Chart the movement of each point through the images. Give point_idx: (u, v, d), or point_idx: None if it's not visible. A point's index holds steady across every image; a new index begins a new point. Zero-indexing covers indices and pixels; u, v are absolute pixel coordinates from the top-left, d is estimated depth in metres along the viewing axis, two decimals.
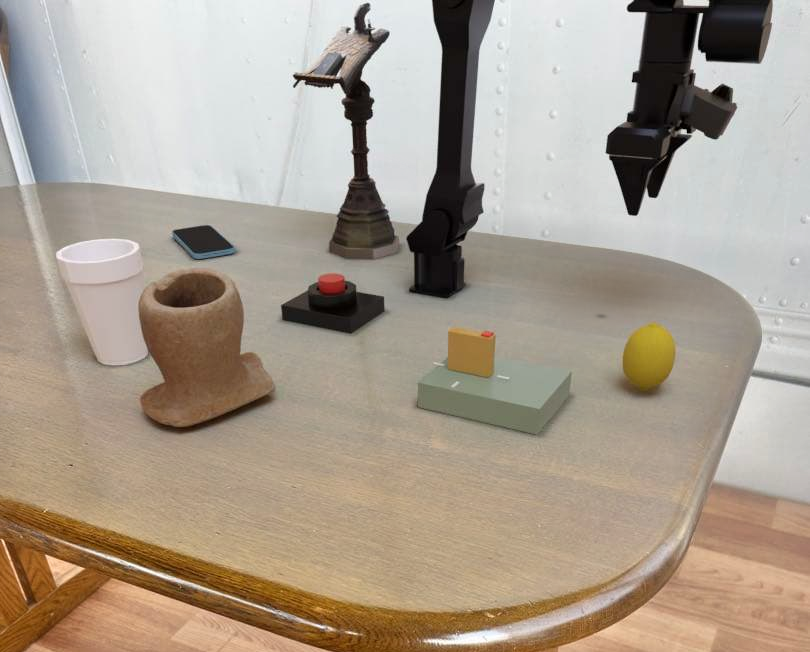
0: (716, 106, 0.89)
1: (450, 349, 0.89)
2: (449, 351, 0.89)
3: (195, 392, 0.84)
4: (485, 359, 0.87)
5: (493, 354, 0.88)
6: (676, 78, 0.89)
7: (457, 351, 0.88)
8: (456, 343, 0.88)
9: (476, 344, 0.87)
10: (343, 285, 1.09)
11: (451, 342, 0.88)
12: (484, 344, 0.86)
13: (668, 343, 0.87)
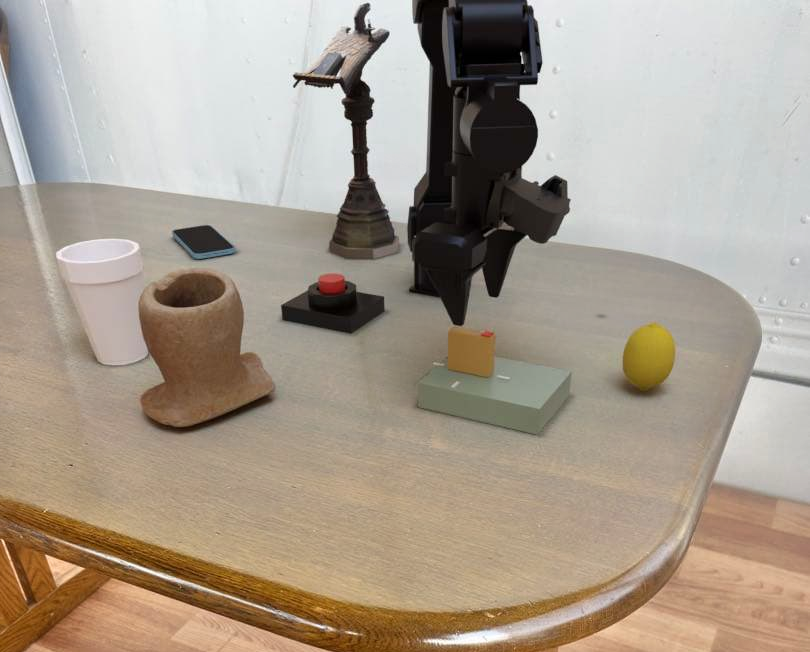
0: (539, 207, 0.75)
1: (450, 349, 0.89)
2: (449, 351, 0.89)
3: (195, 392, 0.84)
4: (485, 359, 0.87)
5: (493, 354, 0.88)
6: (492, 173, 0.75)
7: (457, 351, 0.88)
8: (456, 343, 0.88)
9: (476, 344, 0.87)
10: (343, 285, 1.09)
11: (451, 342, 0.88)
12: (484, 344, 0.86)
13: (668, 343, 0.87)
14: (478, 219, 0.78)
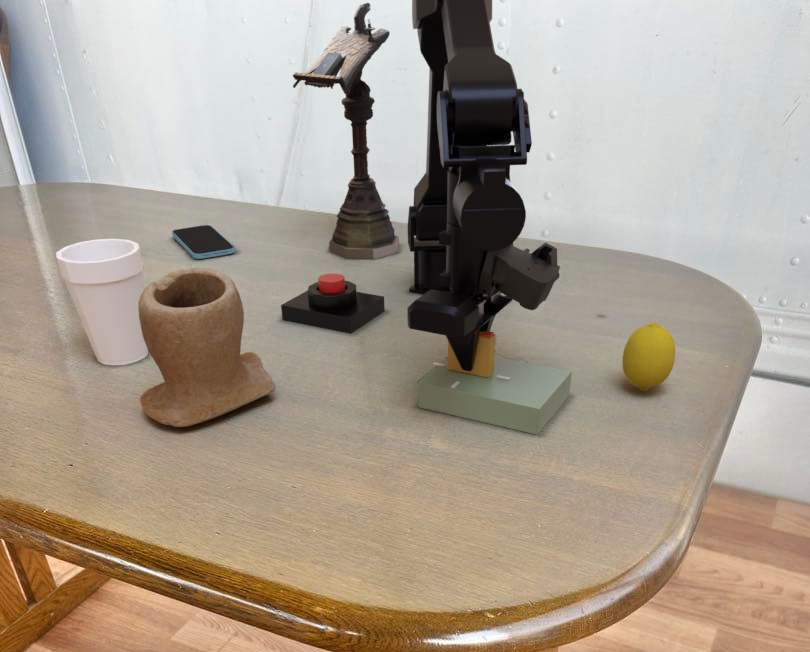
0: (529, 277, 0.78)
1: (450, 349, 0.89)
2: (449, 351, 0.89)
3: (195, 392, 0.84)
4: (485, 359, 0.87)
5: (493, 354, 0.88)
6: None
7: None
8: None
9: None
10: (343, 285, 1.09)
11: None
12: (484, 344, 0.86)
13: (668, 343, 0.87)
14: (471, 286, 0.81)
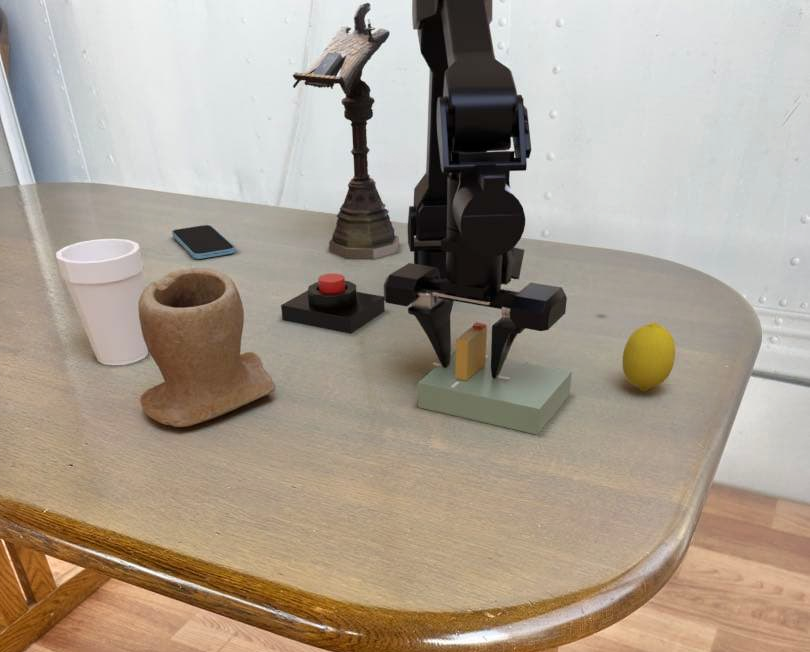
0: (521, 249, 0.87)
1: (468, 359, 0.86)
2: (468, 361, 0.87)
3: (195, 392, 0.84)
4: (484, 348, 0.90)
5: None
6: None
7: (471, 356, 0.87)
8: (471, 350, 0.86)
9: (480, 338, 0.88)
10: (343, 285, 1.09)
11: (469, 351, 0.86)
12: (484, 334, 0.88)
13: (668, 343, 0.87)
14: (501, 282, 0.83)
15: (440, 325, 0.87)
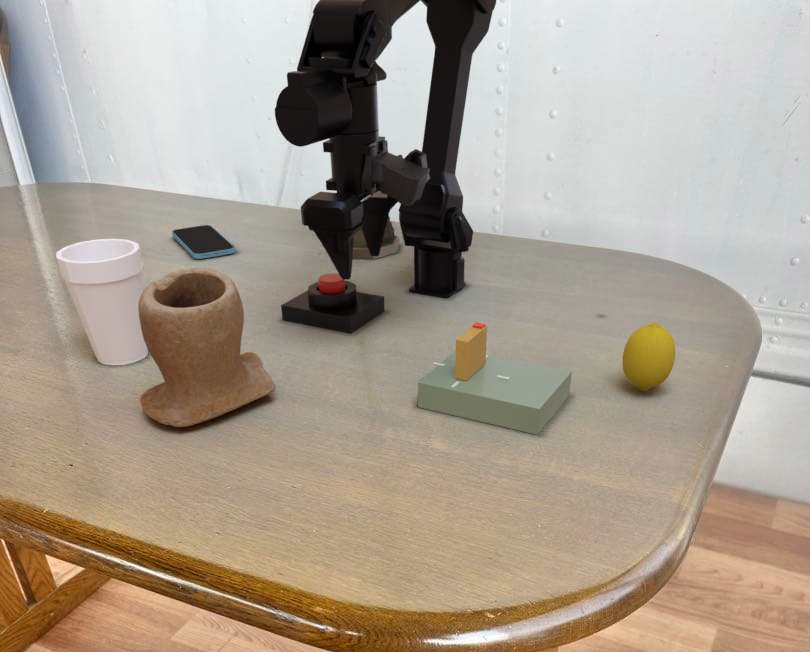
0: (403, 175, 0.91)
1: (468, 359, 0.86)
2: (468, 361, 0.87)
3: (195, 392, 0.84)
4: (484, 348, 0.90)
5: None
6: (362, 148, 0.91)
7: (471, 356, 0.87)
8: (471, 350, 0.86)
9: (480, 338, 0.88)
10: (343, 285, 1.09)
11: (469, 351, 0.86)
12: (484, 334, 0.88)
13: (668, 343, 0.87)
14: (355, 188, 0.93)
15: (367, 214, 1.03)
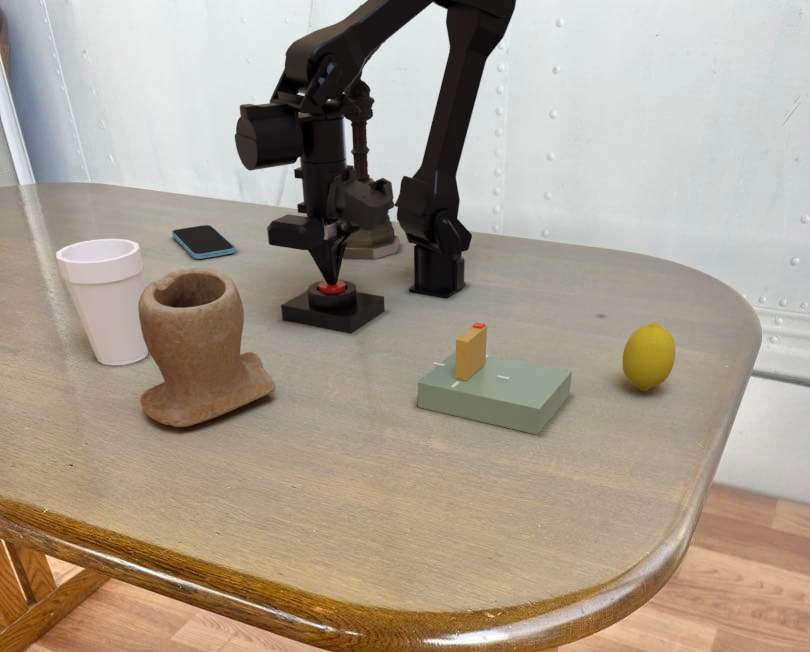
0: (362, 202, 0.98)
1: (468, 359, 0.86)
2: (468, 361, 0.87)
3: (195, 392, 0.84)
4: (484, 348, 0.90)
5: None
6: (327, 176, 0.98)
7: (471, 356, 0.87)
8: (471, 350, 0.86)
9: (480, 338, 0.88)
10: None
11: (469, 351, 0.86)
12: (484, 334, 0.88)
13: (668, 343, 0.87)
14: (321, 212, 1.01)
15: None
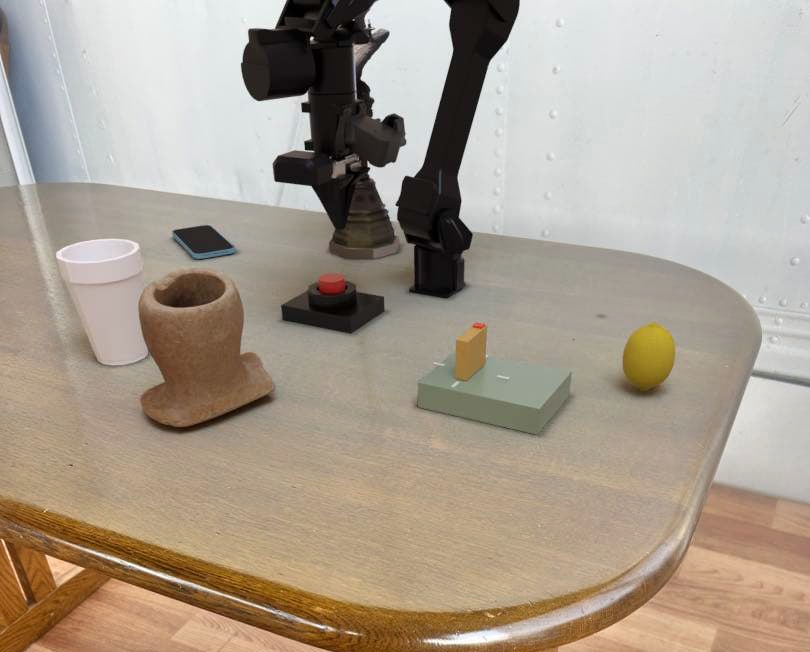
0: (373, 136, 0.93)
1: (468, 359, 0.86)
2: (468, 361, 0.87)
3: (195, 392, 0.84)
4: (484, 348, 0.90)
5: None
6: (336, 109, 0.93)
7: (471, 356, 0.87)
8: (471, 350, 0.86)
9: (480, 338, 0.88)
10: (343, 285, 1.09)
11: (469, 351, 0.86)
12: (484, 334, 0.88)
13: (668, 343, 0.87)
14: (329, 148, 0.96)
15: None
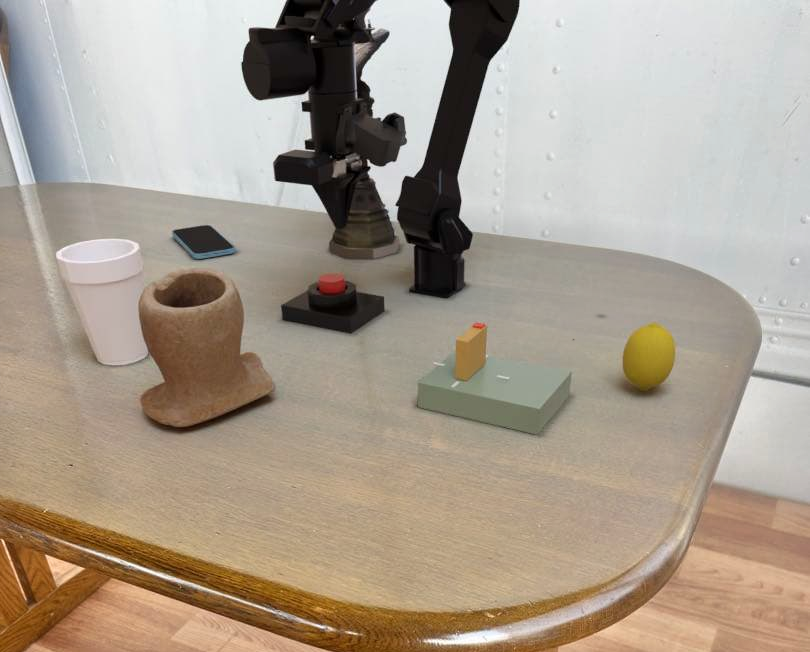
0: (374, 135, 0.93)
1: (468, 359, 0.86)
2: (468, 361, 0.87)
3: (195, 392, 0.84)
4: (484, 348, 0.90)
5: None
6: (337, 108, 0.93)
7: (471, 356, 0.87)
8: (471, 350, 0.86)
9: (480, 338, 0.88)
10: (343, 285, 1.09)
11: (469, 351, 0.86)
12: (484, 334, 0.88)
13: (668, 343, 0.87)
14: (330, 147, 0.96)
15: None
